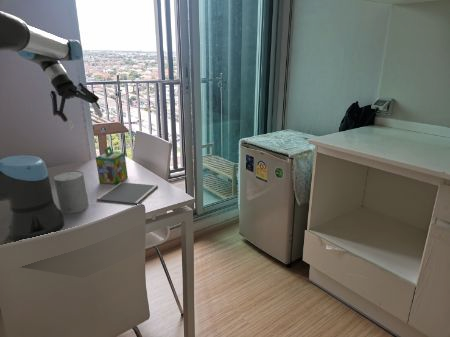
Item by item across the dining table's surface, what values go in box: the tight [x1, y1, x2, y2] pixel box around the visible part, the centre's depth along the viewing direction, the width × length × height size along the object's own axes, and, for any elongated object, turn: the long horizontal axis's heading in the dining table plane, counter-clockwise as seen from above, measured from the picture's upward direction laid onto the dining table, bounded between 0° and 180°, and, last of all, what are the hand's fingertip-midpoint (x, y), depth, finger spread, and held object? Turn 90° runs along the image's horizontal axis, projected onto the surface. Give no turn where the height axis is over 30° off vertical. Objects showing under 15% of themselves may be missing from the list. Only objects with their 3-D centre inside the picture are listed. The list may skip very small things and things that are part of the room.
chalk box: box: [95, 146, 128, 185], centre depth 140 cm, size 9×9×15 cm
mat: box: [95, 181, 159, 206], centre depth 128 cm, size 17×17×1 cm
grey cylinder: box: [53, 170, 90, 215], centre depth 115 cm, size 10×10×12 cm
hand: (87, 122), depth 136 cm, fingers open, 13 cm apart
